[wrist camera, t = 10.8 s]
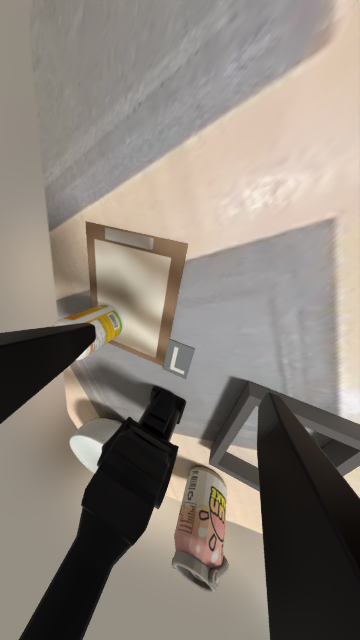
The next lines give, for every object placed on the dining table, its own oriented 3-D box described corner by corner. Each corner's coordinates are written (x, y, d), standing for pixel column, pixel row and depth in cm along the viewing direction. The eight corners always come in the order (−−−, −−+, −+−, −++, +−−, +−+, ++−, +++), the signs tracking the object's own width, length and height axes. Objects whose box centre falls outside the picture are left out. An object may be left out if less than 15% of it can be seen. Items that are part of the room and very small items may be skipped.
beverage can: (238, 495, 32) (237, 611, 22) (204, 491, 36) (190, 588, 26) (214, 464, 31) (200, 571, 20) (182, 464, 35) (158, 553, 24)
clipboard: (164, 364, 25) (160, 370, 24) (96, 335, 28) (89, 339, 27) (188, 243, 17) (183, 242, 16) (89, 222, 20) (78, 219, 19)
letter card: (186, 378, 25) (185, 379, 24) (163, 368, 26) (162, 369, 25) (194, 348, 22) (194, 349, 22) (169, 339, 23) (168, 340, 23)
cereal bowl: (132, 459, 43) (114, 493, 37) (88, 420, 43) (63, 447, 37) (162, 443, 35) (145, 484, 28) (107, 395, 35) (78, 425, 29)
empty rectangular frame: (286, 487, 26) (291, 508, 24) (211, 448, 29) (208, 463, 27) (365, 427, 18) (383, 451, 16) (248, 380, 21) (249, 395, 19)
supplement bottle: (94, 322, 26) (25, 355, 18) (101, 297, 23) (22, 320, 15) (120, 340, 26) (61, 383, 17) (129, 316, 23) (64, 352, 14)
